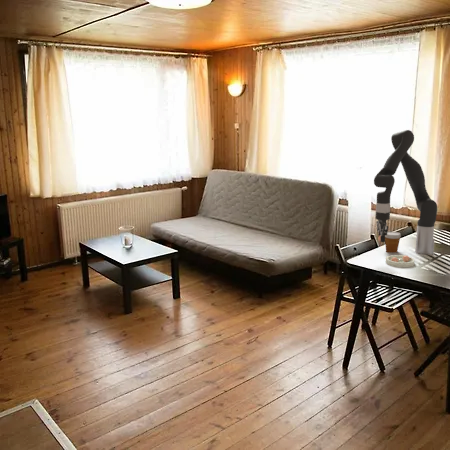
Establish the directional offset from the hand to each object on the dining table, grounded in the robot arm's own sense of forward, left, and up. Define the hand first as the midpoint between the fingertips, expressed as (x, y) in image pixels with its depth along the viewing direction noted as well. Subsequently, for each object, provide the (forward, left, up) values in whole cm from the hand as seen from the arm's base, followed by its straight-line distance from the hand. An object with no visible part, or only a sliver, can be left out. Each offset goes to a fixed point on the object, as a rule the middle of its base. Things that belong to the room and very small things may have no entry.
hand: (381, 240), depth 262 cm
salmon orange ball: (-13, +2, -12) cm, 18 cm away
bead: (-6, +5, -12) cm, 14 cm away
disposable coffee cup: (-13, -19, -13) cm, 26 cm away
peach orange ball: (0, 0, 0) cm, 0 cm away
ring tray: (-10, +4, -13) cm, 16 cm away
